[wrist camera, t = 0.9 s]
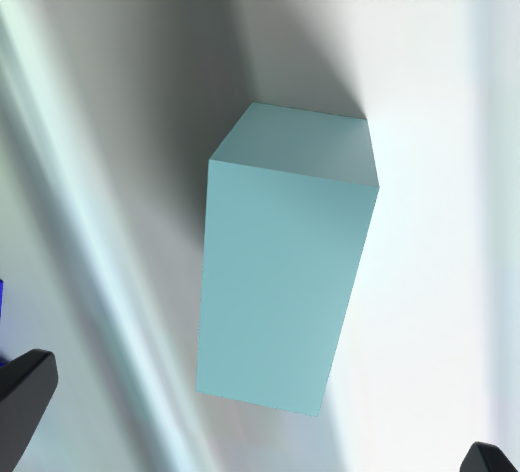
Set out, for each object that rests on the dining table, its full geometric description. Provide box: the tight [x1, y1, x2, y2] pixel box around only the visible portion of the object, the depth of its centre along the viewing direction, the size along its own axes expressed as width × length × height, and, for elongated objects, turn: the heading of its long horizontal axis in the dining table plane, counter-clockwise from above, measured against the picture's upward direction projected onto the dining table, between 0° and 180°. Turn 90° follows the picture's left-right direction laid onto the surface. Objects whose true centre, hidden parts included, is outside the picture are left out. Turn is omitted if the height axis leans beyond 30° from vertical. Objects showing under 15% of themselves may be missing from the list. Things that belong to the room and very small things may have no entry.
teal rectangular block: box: [196, 102, 379, 417], centre depth 15 cm, size 4×8×6 cm, turn 174°
